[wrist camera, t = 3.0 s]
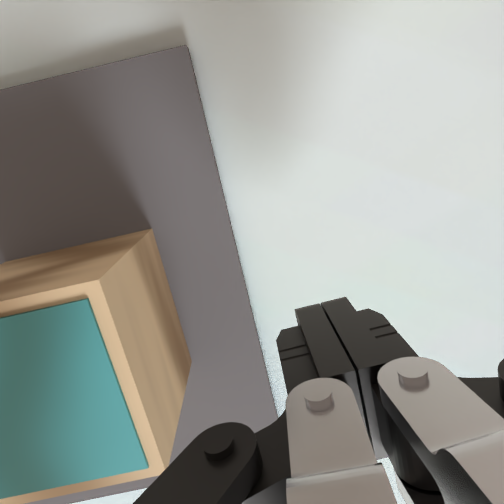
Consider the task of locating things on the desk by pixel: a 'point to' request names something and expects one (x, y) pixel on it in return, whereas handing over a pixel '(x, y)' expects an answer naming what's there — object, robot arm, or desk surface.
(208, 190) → the rubber mat
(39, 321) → the oak cube
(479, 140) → the desk surface
